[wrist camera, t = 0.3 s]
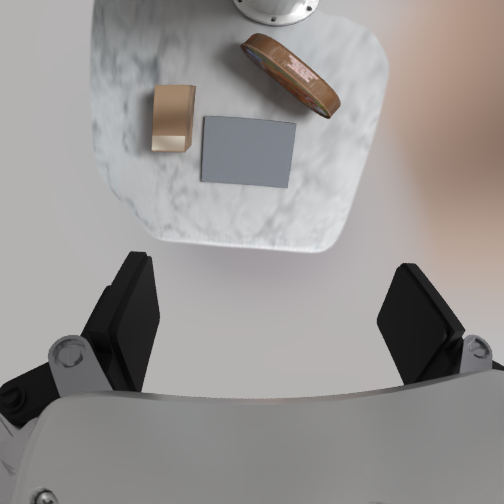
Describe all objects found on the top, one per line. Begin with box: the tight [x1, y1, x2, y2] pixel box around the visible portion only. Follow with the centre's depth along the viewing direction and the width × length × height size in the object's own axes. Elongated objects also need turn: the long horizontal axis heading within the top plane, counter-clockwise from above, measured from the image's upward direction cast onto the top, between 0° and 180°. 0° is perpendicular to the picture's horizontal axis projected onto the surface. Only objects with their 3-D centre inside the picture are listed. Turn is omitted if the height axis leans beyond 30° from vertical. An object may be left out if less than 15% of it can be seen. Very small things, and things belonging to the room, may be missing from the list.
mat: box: [202, 116, 296, 188], centre depth 41 cm, size 10×13×1 cm
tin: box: [241, 33, 341, 119], centre depth 32 cm, size 15×3×8 cm, turn 50°
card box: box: [152, 85, 196, 152], centre depth 36 cm, size 9×4×6 cm, turn 173°
